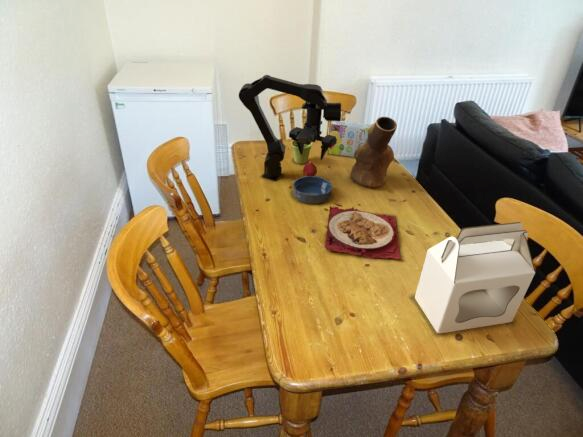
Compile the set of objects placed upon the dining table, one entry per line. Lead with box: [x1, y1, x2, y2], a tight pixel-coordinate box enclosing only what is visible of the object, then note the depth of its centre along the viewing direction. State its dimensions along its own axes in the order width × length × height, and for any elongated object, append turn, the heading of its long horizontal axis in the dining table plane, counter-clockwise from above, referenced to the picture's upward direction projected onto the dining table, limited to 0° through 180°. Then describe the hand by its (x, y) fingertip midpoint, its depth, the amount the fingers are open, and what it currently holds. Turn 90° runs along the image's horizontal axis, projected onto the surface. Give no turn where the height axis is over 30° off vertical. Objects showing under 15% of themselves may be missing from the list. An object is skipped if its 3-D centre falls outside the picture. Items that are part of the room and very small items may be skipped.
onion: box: [302, 160, 318, 177], centre depth 169 cm, size 6×6×8 cm
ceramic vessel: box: [350, 116, 398, 189], centre depth 161 cm, size 16×22×30 cm
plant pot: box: [290, 140, 313, 165], centre depth 182 cm, size 9×9×9 cm
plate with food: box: [324, 202, 401, 260], centre depth 139 cm, size 24×26×4 cm
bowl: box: [292, 175, 333, 205], centre depth 160 cm, size 15×15×4 cm
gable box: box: [414, 221, 536, 334], centre depth 104 cm, size 22×13×28 cm, turn 102°
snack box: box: [328, 120, 373, 158], centre depth 188 cm, size 21×6×15 cm, turn 77°
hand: (311, 156), depth 166 cm, fingers open, 9 cm apart
